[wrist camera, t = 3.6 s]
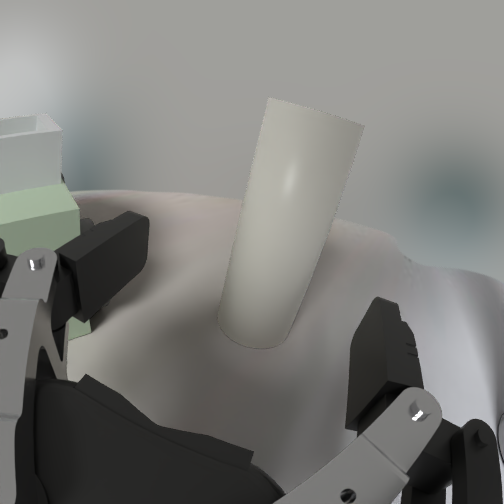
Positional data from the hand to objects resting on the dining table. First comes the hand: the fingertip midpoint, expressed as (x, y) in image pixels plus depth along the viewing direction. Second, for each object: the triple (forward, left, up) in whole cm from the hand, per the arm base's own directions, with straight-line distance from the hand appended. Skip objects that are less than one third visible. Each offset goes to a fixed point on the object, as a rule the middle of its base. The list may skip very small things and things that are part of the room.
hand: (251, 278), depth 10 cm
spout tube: (+4, -7, -8) cm, 11 cm away
